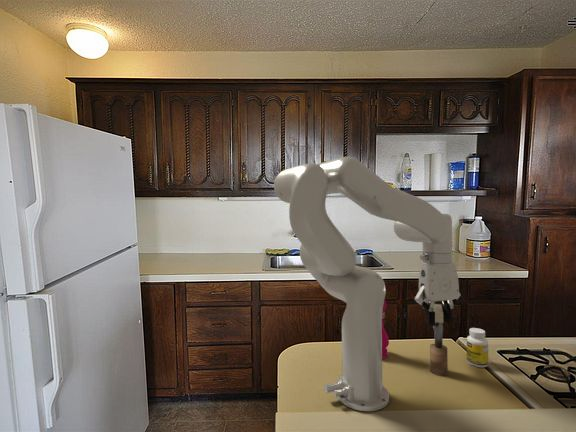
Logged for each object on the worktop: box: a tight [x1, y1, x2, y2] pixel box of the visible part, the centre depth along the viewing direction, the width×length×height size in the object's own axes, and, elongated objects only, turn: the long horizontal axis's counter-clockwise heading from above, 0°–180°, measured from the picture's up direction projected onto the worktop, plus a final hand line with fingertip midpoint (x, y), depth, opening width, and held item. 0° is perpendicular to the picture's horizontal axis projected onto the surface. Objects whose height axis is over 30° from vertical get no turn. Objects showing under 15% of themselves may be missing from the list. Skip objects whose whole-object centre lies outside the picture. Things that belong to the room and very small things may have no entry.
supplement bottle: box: [466, 327, 489, 368], centre depth 93 cm, size 5×5×10 cm
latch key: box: [432, 303, 444, 347], centre depth 94 cm, size 18×2×11 cm, turn 158°
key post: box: [429, 343, 449, 377], centre depth 89 cm, size 4×4×7 cm
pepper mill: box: [382, 299, 390, 360], centre depth 100 cm, size 7×7×20 cm
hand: (438, 322), depth 89 cm, fingers closed on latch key, 4 cm apart
